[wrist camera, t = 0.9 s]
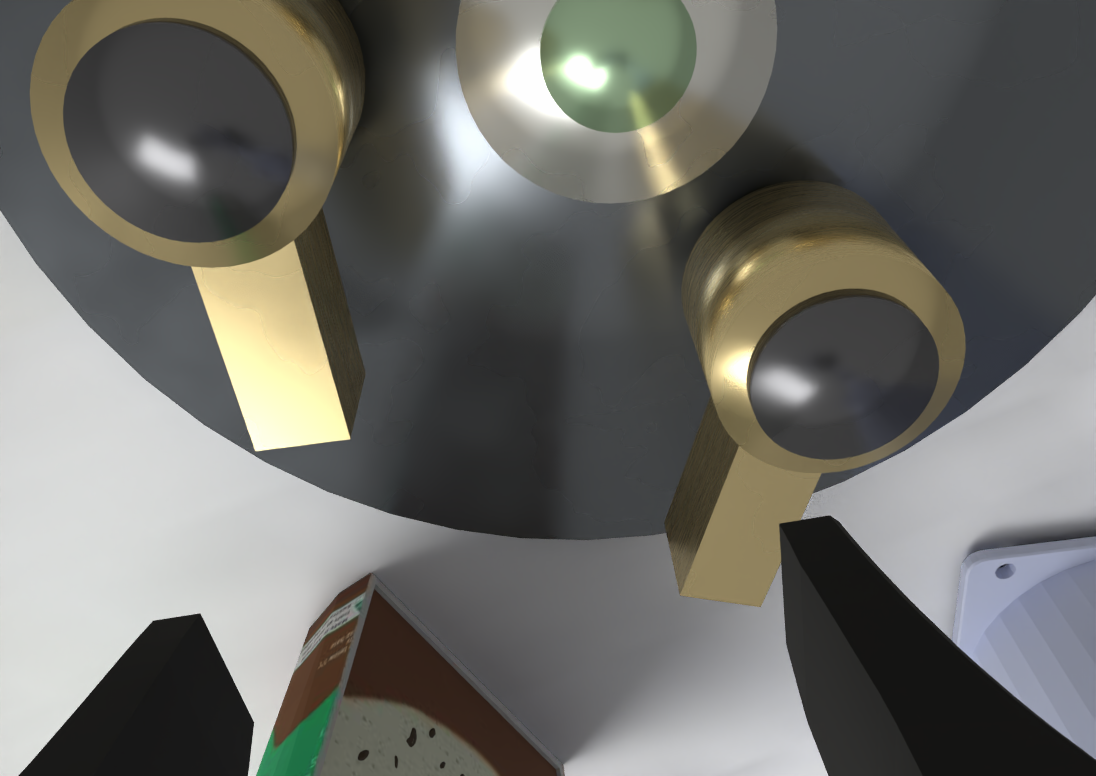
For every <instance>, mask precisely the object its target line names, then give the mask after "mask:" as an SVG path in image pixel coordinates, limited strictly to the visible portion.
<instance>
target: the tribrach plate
mask: <svg viewBox="0 0 1096 776" xmlns="http://www.w3.org/2000/svg"><path fill="white" fill-rule="evenodd" d="M71 1H72V0H0V211H1V212H2V213H3V215H4V216H5V218H6V219H7V221H8V222H9V224H10V225H11V227H12V228H13V230H14V231H15V233H16V234H17V236H18V237H19V239H20V240H21V242H22V243H23V245H24V246H25V248H26V249H27V251H28V252H29V254H30V255H31V257H32V258H33V260H34V261H35V263H36V264H37V265H38V266H39V268H40V269H41V270H42V271H43V272H44V273H45V275H46V276H47V277H48V278H49V279H50V281H51V282H52V283H53V284H54V285H55V286H56V288H57V289H58V290H59V291H60V292H61V294H62V295H63V296H64V297H65V298H66V299H67V301H68V302H69V303H70V304H71V305H72V307H73V308H74V309H75V310H76V311H77V313H78V314H79V315H80V316H81V317H82V318H83V320H84V321H85V322H86V323H87V324H88V326H89V327H90V328H92V329H93V330H94V331H95V332H96V333H97V334H98V335H99V336H100V337H101V338H102V339H103V340H104V341H105V342H106V343H107V344H108V345H109V346H110V347H111V348H113V349H114V350H115V351H116V352H117V353H118V354H119V355H120V356H121V357H122V358H123V359H124V360H125V361H126V362H127V363H128V364H129V365H130V366H131V367H132V368H134V369H135V370H136V371H137V372H138V373H139V374H140V375H141V376H142V377H143V378H144V379H145V380H146V381H148V382H149V383H150V384H152V385H153V386H154V387H156V388H157V389H158V390H159V391H161V392H162V393H163V394H165V395H166V396H167V397H169V398H170V399H171V400H172V401H174V402H175V403H176V404H178V405H179V406H180V407H182V408H183V409H184V410H186V411H187V412H188V413H189V414H191V415H192V416H193V417H195V418H196V419H197V420H199V421H200V422H201V423H203V424H204V425H205V426H207V427H209V428H210V429H212V430H214V431H215V432H217V433H218V434H220V435H222V436H223V437H225V438H227V439H228V440H230V441H232V442H233V443H235V444H237V445H238V446H240V447H241V448H243V449H245V450H246V451H248V452H250V453H251V454H253V455H255V456H256V457H258V458H260V459H261V460H263V461H264V462H266V463H268V464H270V465H273V466H275V467H277V468H279V469H281V470H283V471H285V472H287V473H290V474H292V475H294V476H296V477H298V478H300V479H302V480H304V481H306V482H309V483H311V484H313V485H315V486H317V487H319V488H321V489H323V490H325V491H328V492H330V493H333V494H336V495H339V496H342V497H344V498H347V499H350V500H353V501H356V502H359V503H362V504H364V505H367V506H370V507H373V508H376V509H379V510H382V511H384V512H387V513H390V514H393V515H398V516H402V517H406V518H410V519H414V520H419V521H423V522H427V523H431V524H435V525H440V526H444V527H448V528H452V529H457V530H464V531H472V532H479V533H487V534H495V535H502V536H510V537H517V538H538V539H572V540H592V539H606V538H620V537H634V536H647V535H655V534H661V533H666V528H665V524H664V522H665V519H666V516H667V514H668V511H669V508H670V505H671V503H672V500H673V497H674V494H675V492H676V489H677V486H678V483H679V481H680V478H681V475H682V472H683V470H684V467H685V464H686V462H687V459H688V456H689V453H690V451H691V448H692V445H693V442H694V440H695V437H696V434H697V431H698V429H699V426H700V423H701V420H702V418H703V415H704V412H705V410H706V407H707V404H708V401H709V399H710V396H711V393H710V390H709V387H708V384H707V381H706V378H705V375H704V372H703V369H702V366H701V363H700V360H699V357H698V354H697V351H696V348H695V345H694V342H693V340H692V337H691V334H690V331H689V328H688V325H687V322H686V319H685V316H684V312H683V306H682V296H681V287H682V278H683V273H684V269H685V265H686V262H687V260H688V257H689V255H690V252H691V250H692V248H693V247H694V245H695V243H696V241H697V239H698V238H699V237H700V235H701V234H702V232H703V231H704V230H705V228H706V227H707V226H708V225H709V224H710V223H711V222H712V221H713V220H714V218H715V217H716V216H717V215H719V214H720V213H721V212H722V211H723V210H725V209H726V208H727V207H728V206H730V205H731V204H733V203H734V202H736V201H737V200H739V199H740V198H742V197H744V196H746V195H748V194H750V193H752V192H754V191H756V190H759V189H762V188H764V187H767V186H770V185H775V184H779V183H783V182H791V181H819V182H826V183H830V184H834V185H837V186H841V187H843V188H845V189H848V190H850V191H852V192H854V193H856V194H857V195H859V196H860V197H862V198H863V199H865V200H866V201H867V202H868V203H869V204H871V205H872V206H873V207H874V208H875V209H876V210H877V211H878V213H879V214H880V215H881V216H882V217H883V218H884V219H885V221H886V222H887V223H888V224H889V225H890V226H891V228H892V229H893V230H894V231H895V232H896V233H897V234H898V236H899V237H900V238H901V239H902V240H903V241H904V243H905V244H906V245H907V246H908V247H909V248H910V250H911V251H912V252H913V253H914V254H915V255H916V256H917V258H918V259H919V260H920V261H921V262H922V263H923V265H924V266H925V267H926V268H927V269H928V270H929V271H930V273H931V274H932V275H933V276H934V277H935V278H936V280H937V281H938V282H939V283H940V284H941V285H942V287H943V288H944V289H945V290H946V291H947V293H948V294H949V295H950V296H951V298H952V299H953V301H954V303H955V305H956V307H957V308H958V311H959V313H960V316H961V319H962V322H963V326H964V332H965V349H966V351H965V358H964V365H963V369H962V372H961V376H960V379H959V381H958V384H957V386H956V388H955V390H954V393H953V394H952V396H951V398H950V399H949V401H948V403H947V404H946V406H945V407H944V409H943V410H942V411H941V413H940V414H939V415H938V417H937V418H936V419H935V420H934V421H933V422H932V423H931V424H930V425H929V426H928V427H927V428H926V429H925V430H924V431H923V432H922V433H921V434H920V435H918V436H917V437H916V438H915V439H914V440H912V441H911V442H909V443H908V444H907V445H905V446H904V447H902V448H901V449H899V450H897V451H896V452H894V453H892V454H890V455H888V456H886V457H884V458H882V459H880V460H877V461H875V462H873V463H870V464H867V465H864V466H861V467H858V468H854V469H849V470H844V471H839V472H830V473H821V476H820V478H819V480H818V482H817V484H816V487H815V489H814V491H813V493H815V492H818V491H820V490H823V489H825V488H828V487H831V486H833V485H836V484H838V483H841V482H843V481H845V480H847V479H849V478H851V477H853V476H855V475H857V474H859V473H861V472H863V471H865V470H867V469H869V468H871V467H873V466H875V465H877V464H879V463H881V462H883V461H885V460H887V459H889V458H891V457H893V456H895V455H897V454H899V453H901V452H903V451H905V450H906V449H908V448H910V447H911V446H913V445H914V444H916V443H917V442H919V441H921V440H922V439H924V438H925V437H927V436H928V435H930V434H932V433H933V432H935V431H936V430H938V429H939V428H941V427H943V426H944V425H946V424H947V423H949V422H950V421H952V420H954V419H955V418H957V417H958V416H960V415H961V414H963V413H965V412H966V411H967V410H969V409H970V408H971V407H973V406H974V405H975V404H976V403H978V402H979V401H980V400H981V399H983V398H984V397H985V396H987V395H988V394H989V393H990V392H992V391H993V390H994V389H996V388H997V387H998V386H999V385H1001V384H1002V383H1003V382H1004V381H1006V380H1007V379H1008V378H1010V377H1011V376H1012V375H1013V374H1015V373H1016V372H1017V371H1019V370H1020V369H1021V368H1022V367H1024V366H1025V365H1026V364H1027V363H1028V362H1029V361H1030V360H1031V359H1032V358H1033V357H1034V356H1035V355H1036V354H1037V353H1038V352H1040V351H1041V350H1042V349H1043V348H1044V347H1045V346H1046V345H1047V344H1048V343H1049V342H1050V341H1051V340H1052V339H1053V338H1054V337H1055V336H1056V335H1057V334H1058V333H1059V332H1060V331H1062V330H1063V329H1064V328H1065V327H1066V326H1067V325H1068V324H1069V323H1070V322H1071V321H1072V320H1073V319H1074V318H1075V317H1076V316H1077V315H1078V314H1079V313H1080V312H1081V311H1082V310H1083V309H1084V308H1085V307H1086V305H1087V304H1088V303H1089V302H1090V301H1091V300H1092V298H1093V297H1094V296H1095V295H1096V0H338V1H339V3H340V4H341V5H342V7H343V9H344V10H345V12H346V14H347V16H348V17H349V19H350V21H351V23H352V25H353V28H354V30H355V32H356V35H357V37H358V40H359V44H360V47H361V51H362V54H363V60H364V67H365V83H366V88H365V98H364V105H363V109H362V113H361V117H360V120H359V122H358V125H357V127H356V130H355V132H354V135H353V137H352V139H351V142H350V144H349V146H348V149H347V151H346V154H345V156H344V158H343V161H342V163H341V165H340V168H339V170H338V172H337V175H336V177H335V179H334V182H333V184H332V187H331V189H330V191H329V194H328V196H327V198H326V201H325V202H324V204H323V206H322V208H323V212H324V216H325V220H326V224H327V227H328V231H329V235H330V239H331V243H332V246H333V250H334V254H335V258H336V262H337V266H338V269H339V273H340V277H341V281H342V285H343V288H344V292H345V296H346V300H347V304H348V307H349V311H350V315H351V319H352V323H353V326H354V330H355V334H356V338H357V342H358V345H359V349H360V353H361V357H362V361H363V364H364V368H365V372H366V374H365V379H364V383H363V387H362V392H361V396H360V400H359V404H358V409H357V413H356V417H355V422H354V426H353V430H352V434H351V439H347V440H340V441H332V442H324V443H316V444H308V445H300V446H293V447H285V448H277V449H269V450H261V451H255V448H254V445H253V442H252V439H251V437H250V434H249V431H248V428H247V425H246V422H245V419H244V417H243V414H242V411H241V408H240V405H239V402H238V399H237V396H236V394H235V391H234V388H233V385H232V382H231V379H230V376H229V374H228V371H227V368H226V365H225V362H224V359H223V356H222V353H221V351H220V348H219V345H218V342H217V339H216V336H215V333H214V331H213V328H212V325H211V322H210V319H209V316H208V313H207V310H206V308H205V305H204V302H203V299H202V296H201V293H200V290H199V288H198V285H197V282H196V279H195V276H194V273H193V270H192V267H191V266H185V265H179V264H174V263H170V262H167V261H163V260H160V259H156V258H154V257H151V256H149V255H146V254H144V253H141V252H139V251H137V250H135V249H133V248H131V247H129V246H127V245H125V244H123V243H122V242H120V241H118V240H117V239H115V238H114V237H112V236H111V235H109V234H108V233H106V232H105V231H104V230H102V229H101V228H100V227H99V226H97V225H96V224H95V223H94V222H93V221H91V220H90V219H89V218H88V217H87V216H86V215H85V214H84V213H83V212H82V211H81V210H80V209H79V208H78V207H77V206H76V205H75V204H74V203H73V201H72V200H71V199H70V198H69V196H68V195H67V194H66V193H65V191H64V190H63V189H62V188H61V186H60V184H59V183H58V181H57V180H56V178H55V177H54V175H53V173H52V172H51V170H50V168H49V166H48V164H47V162H46V160H45V158H44V156H43V154H42V151H41V148H40V145H39V143H38V140H37V137H36V134H35V130H34V125H33V120H32V115H31V105H30V83H31V72H32V68H33V63H34V59H35V55H36V52H37V50H38V47H39V45H40V42H41V40H42V37H43V36H44V34H45V32H46V31H47V29H48V27H49V26H50V24H51V22H52V21H53V20H54V19H55V17H56V16H57V15H58V14H59V13H60V12H61V10H62V9H63V8H64V7H65V6H66V5H67V4H69V3H70V2H71ZM813 493H812V494H813Z"/></svg>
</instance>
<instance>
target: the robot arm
mask: <svg viewBox="0 0 1096 776" xmlns="http://www.w3.org/2000/svg"><path fill="white" fill-rule="evenodd" d="M779 532H780V549H781V565H782V582H783V598H784V615H785V631H786V645H787V648H788V652H789V656H790V660H791V663H792V667H793V671H794V674H795V678H796V682H797V686H798V689H799V693H800V697H801V700H802V704H803V707H804V711H805V714H806V718H807V722H808V724H809V727H810V729H811V732H812V735H813V737H814V740H815V742H816V745H817V747H818V750H819V753H820V755H821V758H822V760H823V763H824V765H825V768H826V770H827V773H828V775H829V776H1096V536H1094V537H1086V538H1078V539H1069V540H1061V541H1053V542H1045V543H1036V544H1028V545H1020V546H1012V547H1003V548H995V549H987V550H980V551H977V552H974V553H972V554H970V555H969V556H968V557H967V558H966V559H965V560H964V561H963V564H962V566H961V573H960V581H959V589H958V597H957V605H956V613H955V621H954V629H953V637H952V640H951V639H950V638H948V637H947V636H946V635H945V634H944V633H943V632H942V631H941V630H940V629H939V628H938V627H937V626H936V625H935V624H934V623H933V622H932V621H931V620H930V619H929V618H928V617H927V616H926V615H925V614H924V613H922V612H921V611H920V610H919V609H918V608H917V607H916V606H915V605H914V604H913V603H912V602H911V601H910V600H909V599H908V598H907V597H906V596H905V595H904V594H903V592H902V591H901V590H900V589H899V588H898V587H897V586H896V585H895V584H894V583H893V582H892V581H891V580H890V579H889V578H888V577H887V576H886V575H885V574H884V572H883V571H882V570H881V569H880V568H879V567H878V566H877V565H876V564H875V563H874V562H873V561H872V559H871V558H870V557H869V556H868V555H867V554H866V553H865V552H864V551H863V549H862V548H861V547H860V546H859V545H858V544H857V543H856V541H855V540H854V539H853V538H852V537H851V536H850V534H849V533H848V532H847V531H846V530H845V528H844V527H843V526H842V525H841V524H840V522H839V521H837V520H836V519H834V518H833V517H831V516H824V517H818V518H811V519H805V520H798V521H792V522H785V523H779ZM1004 564H1006V565H1005V566H1004V567H1002V568H999V567H1000V566H1001V565H1004ZM997 568H998V569H997ZM253 727H254V722H253V720H252V717H251V715H250V713H249V711H248V709H247V707H246V705H245V703H244V701H243V699H242V697H241V695H240V693H239V691H238V689H237V687H236V685H235V683H234V681H233V679H232V677H231V675H230V673H229V671H228V669H227V667H226V665H225V663H224V661H223V659H222V657H221V655H220V653H219V651H218V648H217V646H216V644H215V642H214V640H213V638H212V636H211V634H210V632H209V630H208V628H207V626H206V624H205V622H204V620H203V618H202V616H201V614H194V615H187V616H181V617H175V618H168V619H162V620H155V621H153V622H152V623H151V624H150V625H149V626H148V627H147V628H146V629H145V630H144V632H143V633H142V634H141V635H140V636H139V637H138V638H137V639H136V640H135V642H134V643H133V644H132V645H131V646H130V647H129V649H128V650H127V651H126V652H125V653H124V654H123V655H122V657H121V658H120V659H119V660H118V661H117V663H116V664H115V665H114V666H113V667H112V668H111V670H110V671H109V672H108V673H107V674H106V675H105V677H104V678H103V679H102V680H101V681H100V683H99V684H98V685H97V686H96V687H95V688H94V690H93V691H92V692H91V693H90V694H89V696H88V697H87V698H86V699H85V700H84V701H83V703H82V704H81V705H80V706H79V707H78V708H77V710H76V711H75V712H74V713H73V714H72V715H71V717H70V718H69V719H68V720H67V721H66V722H65V723H64V725H63V726H62V727H61V728H60V729H59V730H58V732H57V733H56V734H55V735H54V736H53V737H52V738H51V740H50V741H49V742H48V743H47V744H46V745H45V747H44V748H43V749H42V750H41V751H40V752H39V753H38V755H37V756H36V757H35V758H34V759H33V760H32V761H31V763H30V764H29V765H28V766H27V767H26V768H25V769H24V770H23V771H22V772H21V774H20V775H19V776H248V770H249V762H250V753H251V744H252V736H253Z"/></svg>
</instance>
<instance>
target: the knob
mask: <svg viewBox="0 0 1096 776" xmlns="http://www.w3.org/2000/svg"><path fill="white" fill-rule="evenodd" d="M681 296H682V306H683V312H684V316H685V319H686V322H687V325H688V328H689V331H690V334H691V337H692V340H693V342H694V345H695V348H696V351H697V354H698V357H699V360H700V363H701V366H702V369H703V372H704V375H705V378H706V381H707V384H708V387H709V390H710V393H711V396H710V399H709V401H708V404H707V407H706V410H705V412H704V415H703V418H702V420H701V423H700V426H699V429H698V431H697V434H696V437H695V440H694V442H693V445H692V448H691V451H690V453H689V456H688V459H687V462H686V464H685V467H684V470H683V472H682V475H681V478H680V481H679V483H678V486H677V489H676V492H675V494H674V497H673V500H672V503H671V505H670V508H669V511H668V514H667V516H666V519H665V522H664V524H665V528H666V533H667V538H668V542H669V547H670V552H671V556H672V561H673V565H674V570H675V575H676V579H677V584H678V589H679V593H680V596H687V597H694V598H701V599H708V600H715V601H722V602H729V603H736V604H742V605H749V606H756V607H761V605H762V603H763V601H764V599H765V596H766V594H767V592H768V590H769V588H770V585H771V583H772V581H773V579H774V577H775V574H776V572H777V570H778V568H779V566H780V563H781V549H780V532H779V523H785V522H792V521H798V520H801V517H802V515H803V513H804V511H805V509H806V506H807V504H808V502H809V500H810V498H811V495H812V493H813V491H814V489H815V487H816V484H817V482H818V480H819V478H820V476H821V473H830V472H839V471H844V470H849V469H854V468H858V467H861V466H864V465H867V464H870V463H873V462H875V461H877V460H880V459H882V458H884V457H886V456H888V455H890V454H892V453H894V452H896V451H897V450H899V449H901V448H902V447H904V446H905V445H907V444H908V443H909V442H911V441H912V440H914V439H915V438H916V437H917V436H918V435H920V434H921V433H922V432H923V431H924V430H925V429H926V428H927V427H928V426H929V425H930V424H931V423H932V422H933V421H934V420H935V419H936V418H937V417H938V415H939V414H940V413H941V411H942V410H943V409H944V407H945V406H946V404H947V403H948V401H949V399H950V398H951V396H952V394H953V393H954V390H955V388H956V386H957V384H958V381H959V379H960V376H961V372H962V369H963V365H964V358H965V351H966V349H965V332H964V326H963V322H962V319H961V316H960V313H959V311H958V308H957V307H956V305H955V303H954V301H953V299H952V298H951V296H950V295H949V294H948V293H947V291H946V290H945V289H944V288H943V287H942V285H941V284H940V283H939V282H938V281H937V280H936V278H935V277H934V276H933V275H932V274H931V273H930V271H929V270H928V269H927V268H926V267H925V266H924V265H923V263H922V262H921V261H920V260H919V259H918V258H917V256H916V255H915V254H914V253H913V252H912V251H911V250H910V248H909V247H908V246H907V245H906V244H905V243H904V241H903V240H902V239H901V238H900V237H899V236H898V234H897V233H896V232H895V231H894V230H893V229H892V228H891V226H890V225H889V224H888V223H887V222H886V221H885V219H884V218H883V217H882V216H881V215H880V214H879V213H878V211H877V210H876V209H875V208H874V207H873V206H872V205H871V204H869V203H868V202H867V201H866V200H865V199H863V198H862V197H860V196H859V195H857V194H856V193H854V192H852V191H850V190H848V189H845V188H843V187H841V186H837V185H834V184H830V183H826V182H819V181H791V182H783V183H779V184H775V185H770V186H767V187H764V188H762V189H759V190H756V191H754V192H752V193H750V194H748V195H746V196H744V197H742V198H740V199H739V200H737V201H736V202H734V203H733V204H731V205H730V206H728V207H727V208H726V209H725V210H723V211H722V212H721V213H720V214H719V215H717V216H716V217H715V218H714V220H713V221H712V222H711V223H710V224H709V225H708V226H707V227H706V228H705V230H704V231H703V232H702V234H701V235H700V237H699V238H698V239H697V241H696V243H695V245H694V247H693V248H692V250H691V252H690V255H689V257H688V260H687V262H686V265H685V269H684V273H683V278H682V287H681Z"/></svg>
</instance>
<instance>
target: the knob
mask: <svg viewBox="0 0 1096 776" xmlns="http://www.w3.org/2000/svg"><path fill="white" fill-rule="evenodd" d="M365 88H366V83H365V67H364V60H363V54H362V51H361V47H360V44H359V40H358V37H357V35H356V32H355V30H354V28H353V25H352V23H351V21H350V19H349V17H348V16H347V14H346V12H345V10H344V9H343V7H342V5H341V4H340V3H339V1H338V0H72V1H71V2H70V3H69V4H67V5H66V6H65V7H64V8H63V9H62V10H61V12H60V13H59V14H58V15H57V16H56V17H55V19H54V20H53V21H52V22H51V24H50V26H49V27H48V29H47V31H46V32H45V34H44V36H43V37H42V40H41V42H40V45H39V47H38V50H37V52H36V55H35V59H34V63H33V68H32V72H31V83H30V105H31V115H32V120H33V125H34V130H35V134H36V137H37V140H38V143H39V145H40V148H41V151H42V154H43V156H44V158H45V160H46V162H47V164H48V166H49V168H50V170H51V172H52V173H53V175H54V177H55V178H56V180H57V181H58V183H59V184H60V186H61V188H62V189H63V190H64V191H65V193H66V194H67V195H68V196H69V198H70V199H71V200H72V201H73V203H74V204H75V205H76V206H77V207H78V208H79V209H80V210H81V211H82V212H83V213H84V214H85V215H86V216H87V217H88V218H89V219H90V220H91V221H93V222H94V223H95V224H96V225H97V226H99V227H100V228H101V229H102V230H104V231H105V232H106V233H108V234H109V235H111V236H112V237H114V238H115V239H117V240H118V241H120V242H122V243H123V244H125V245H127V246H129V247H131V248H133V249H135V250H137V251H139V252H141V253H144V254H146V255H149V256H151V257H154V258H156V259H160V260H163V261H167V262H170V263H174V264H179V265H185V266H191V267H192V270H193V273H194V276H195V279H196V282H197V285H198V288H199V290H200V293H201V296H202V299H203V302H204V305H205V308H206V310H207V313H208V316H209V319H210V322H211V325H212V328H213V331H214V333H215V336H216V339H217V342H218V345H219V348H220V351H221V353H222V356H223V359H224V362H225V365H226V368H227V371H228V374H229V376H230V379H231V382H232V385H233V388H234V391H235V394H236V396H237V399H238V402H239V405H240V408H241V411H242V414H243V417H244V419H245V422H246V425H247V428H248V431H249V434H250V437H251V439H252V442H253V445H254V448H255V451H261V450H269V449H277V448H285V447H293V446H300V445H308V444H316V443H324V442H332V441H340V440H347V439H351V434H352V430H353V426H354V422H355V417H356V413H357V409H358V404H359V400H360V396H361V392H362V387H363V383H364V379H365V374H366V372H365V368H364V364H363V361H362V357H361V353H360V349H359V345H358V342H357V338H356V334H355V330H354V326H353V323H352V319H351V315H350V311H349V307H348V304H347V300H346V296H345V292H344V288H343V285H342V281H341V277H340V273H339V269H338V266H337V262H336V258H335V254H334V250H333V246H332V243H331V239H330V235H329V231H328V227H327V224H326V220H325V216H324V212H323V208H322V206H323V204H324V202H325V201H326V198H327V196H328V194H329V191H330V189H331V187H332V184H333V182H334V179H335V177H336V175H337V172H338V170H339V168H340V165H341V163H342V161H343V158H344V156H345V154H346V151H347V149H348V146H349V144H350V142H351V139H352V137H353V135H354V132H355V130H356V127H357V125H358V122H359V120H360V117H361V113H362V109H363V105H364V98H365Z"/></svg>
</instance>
